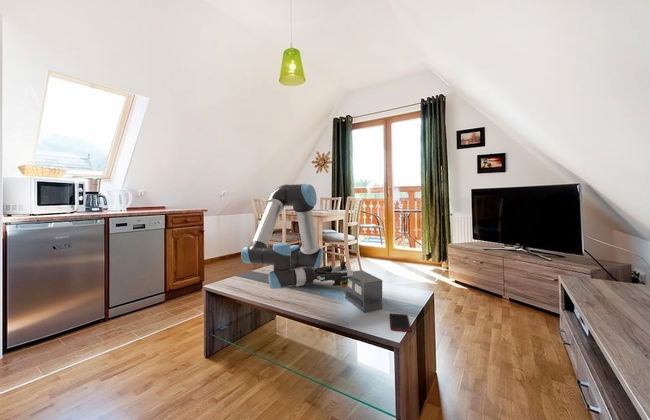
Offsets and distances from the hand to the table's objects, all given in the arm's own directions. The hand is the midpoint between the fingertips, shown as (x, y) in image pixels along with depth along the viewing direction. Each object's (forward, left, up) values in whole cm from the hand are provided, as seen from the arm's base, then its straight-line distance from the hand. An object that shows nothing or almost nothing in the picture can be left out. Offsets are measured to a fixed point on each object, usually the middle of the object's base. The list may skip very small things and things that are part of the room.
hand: (348, 270), depth 127 cm
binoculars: (-1, -5, -7) cm, 8 cm away
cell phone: (+24, +12, -18) cm, 32 cm away
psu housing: (0, +8, -18) cm, 19 cm away
